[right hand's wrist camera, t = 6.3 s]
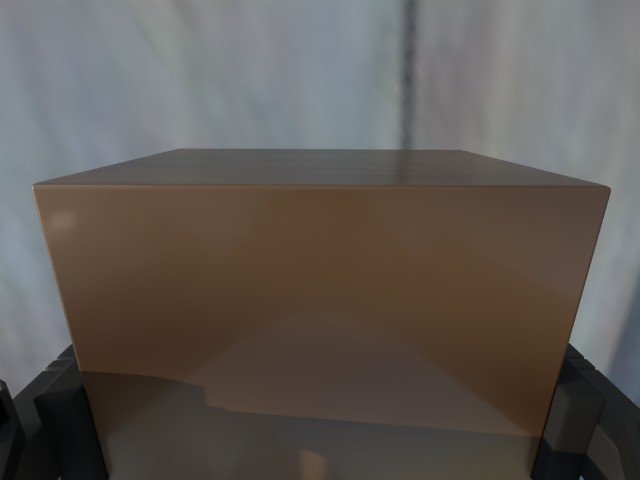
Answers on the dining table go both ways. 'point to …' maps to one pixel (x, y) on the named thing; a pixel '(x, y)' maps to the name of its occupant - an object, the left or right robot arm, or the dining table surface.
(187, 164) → the thick board
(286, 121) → the dining table surface
